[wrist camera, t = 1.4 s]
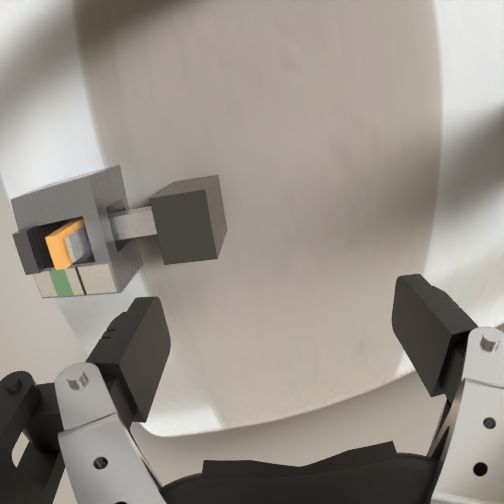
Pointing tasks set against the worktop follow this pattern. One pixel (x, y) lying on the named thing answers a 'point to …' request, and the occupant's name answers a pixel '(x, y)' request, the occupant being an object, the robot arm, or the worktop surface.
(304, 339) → the worktop surface
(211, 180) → the dark cube on shaft
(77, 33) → the worktop surface
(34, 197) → the gauge housing
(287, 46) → the worktop surface
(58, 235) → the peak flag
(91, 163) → the worktop surface
